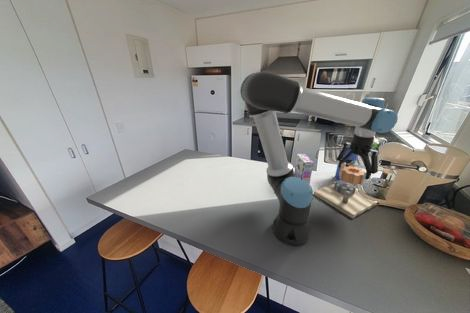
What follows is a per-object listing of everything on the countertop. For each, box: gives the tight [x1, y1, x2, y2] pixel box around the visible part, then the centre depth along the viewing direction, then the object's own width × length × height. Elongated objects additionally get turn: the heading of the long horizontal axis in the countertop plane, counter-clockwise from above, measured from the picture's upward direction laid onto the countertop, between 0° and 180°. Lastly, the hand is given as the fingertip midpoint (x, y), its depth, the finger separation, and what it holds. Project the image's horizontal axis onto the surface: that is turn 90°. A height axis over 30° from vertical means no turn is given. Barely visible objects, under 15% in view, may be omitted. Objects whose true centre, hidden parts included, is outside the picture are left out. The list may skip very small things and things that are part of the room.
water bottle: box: [334, 141, 359, 181], centre depth 111 cm, size 9×9×25 cm
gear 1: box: [340, 166, 366, 186], centre depth 84 cm, size 10×10×5 cm
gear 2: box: [334, 180, 357, 196], centre depth 99 cm, size 10×10×5 cm
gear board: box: [313, 182, 378, 219], centre depth 95 cm, size 24×22×8 cm
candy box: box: [294, 153, 314, 185], centre depth 110 cm, size 14×6×16 cm, turn 179°
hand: (351, 179), depth 85 cm, fingers closed on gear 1, 10 cm apart
